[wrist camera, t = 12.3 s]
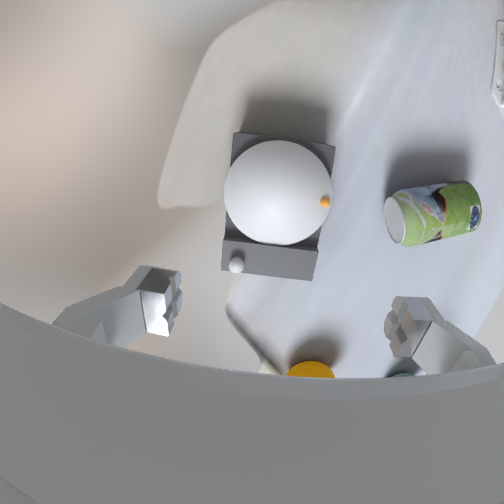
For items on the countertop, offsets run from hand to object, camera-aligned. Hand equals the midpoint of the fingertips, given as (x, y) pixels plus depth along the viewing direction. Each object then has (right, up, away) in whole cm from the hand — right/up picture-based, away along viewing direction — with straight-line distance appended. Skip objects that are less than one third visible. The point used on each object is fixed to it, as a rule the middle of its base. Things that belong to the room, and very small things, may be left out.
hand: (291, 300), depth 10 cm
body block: (+1, +8, +19) cm, 21 cm away
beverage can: (+25, +7, +14) cm, 29 cm away
